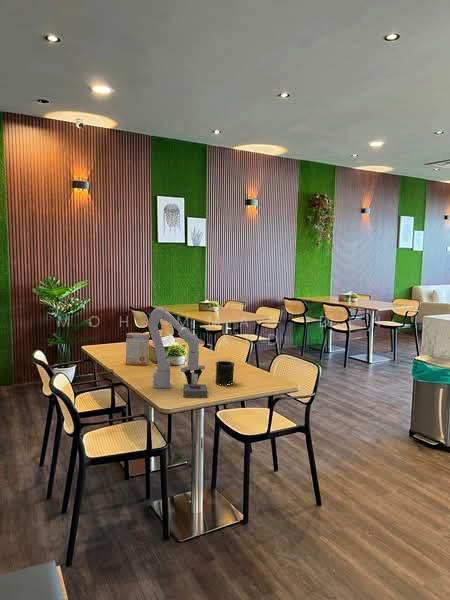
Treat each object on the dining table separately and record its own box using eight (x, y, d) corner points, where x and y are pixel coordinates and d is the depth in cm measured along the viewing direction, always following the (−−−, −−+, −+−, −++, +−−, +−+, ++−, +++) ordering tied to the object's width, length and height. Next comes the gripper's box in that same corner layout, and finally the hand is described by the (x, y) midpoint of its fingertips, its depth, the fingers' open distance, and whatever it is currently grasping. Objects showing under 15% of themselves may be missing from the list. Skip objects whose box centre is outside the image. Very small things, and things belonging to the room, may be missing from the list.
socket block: (183, 397, 231) (183, 390, 231) (183, 390, 243) (183, 384, 243) (206, 397, 232) (207, 390, 232) (205, 390, 244) (205, 384, 244)
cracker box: (148, 364, 300) (149, 333, 298) (146, 366, 294) (147, 334, 292) (128, 362, 301) (129, 332, 299) (125, 364, 295) (126, 333, 293)
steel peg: (191, 388, 247) (191, 374, 246) (187, 387, 250) (187, 373, 249) (197, 387, 249) (197, 373, 248) (193, 386, 252) (194, 372, 252)
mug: (220, 387, 252) (221, 366, 251) (208, 380, 265) (209, 360, 264) (237, 385, 258) (238, 364, 257) (224, 378, 270) (225, 359, 269)
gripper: (185, 361, 241) (184, 386, 242) (208, 359, 249) (207, 383, 250) (179, 359, 246) (178, 383, 248) (201, 356, 255) (200, 380, 256)
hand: (192, 383), depth 249 cm, fingers open, 4 cm apart
